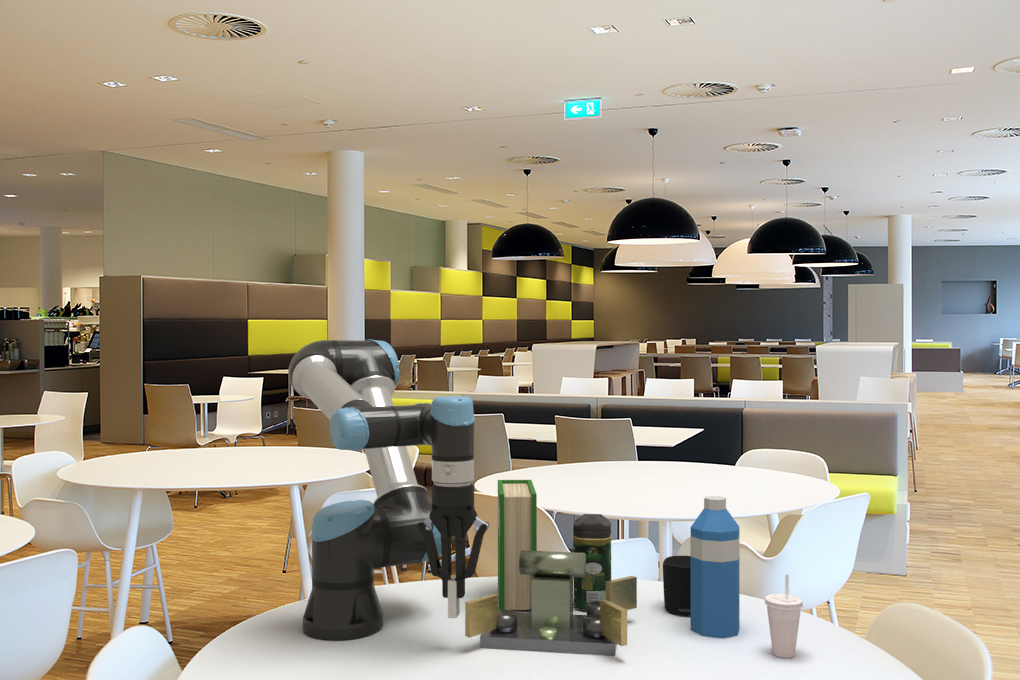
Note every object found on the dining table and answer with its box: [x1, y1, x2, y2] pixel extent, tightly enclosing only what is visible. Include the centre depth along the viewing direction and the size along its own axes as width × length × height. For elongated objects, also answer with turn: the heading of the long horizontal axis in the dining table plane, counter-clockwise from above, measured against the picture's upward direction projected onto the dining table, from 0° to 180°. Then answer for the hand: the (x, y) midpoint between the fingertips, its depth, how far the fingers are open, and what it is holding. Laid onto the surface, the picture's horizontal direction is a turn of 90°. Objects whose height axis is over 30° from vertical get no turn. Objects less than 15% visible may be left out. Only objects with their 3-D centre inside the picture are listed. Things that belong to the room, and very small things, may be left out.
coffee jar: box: [572, 513, 612, 611], centre depth 180 cm, size 10×8×19 cm
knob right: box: [583, 599, 628, 647], centre depth 154 cm, size 12×5×6 cm, turn 25°
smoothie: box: [764, 573, 804, 659], centre depth 153 cm, size 6×6×14 cm
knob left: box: [464, 593, 518, 638], centre depth 158 cm, size 12×5×6 cm, turn 135°
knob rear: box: [585, 575, 638, 616], centre depth 167 cm, size 12×5×6 cm, turn 126°
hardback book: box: [497, 479, 538, 611], centre depth 184 cm, size 18×7×24 cm, turn 2°
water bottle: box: [690, 495, 741, 639], centre depth 166 cm, size 9×9×25 cm
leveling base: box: [479, 550, 618, 656], centre depth 162 cm, size 24×15×15 cm, turn 80°
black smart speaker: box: [662, 555, 691, 618], centre depth 177 cm, size 9×9×10 cm
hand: (453, 615), depth 156 cm, fingers closed
